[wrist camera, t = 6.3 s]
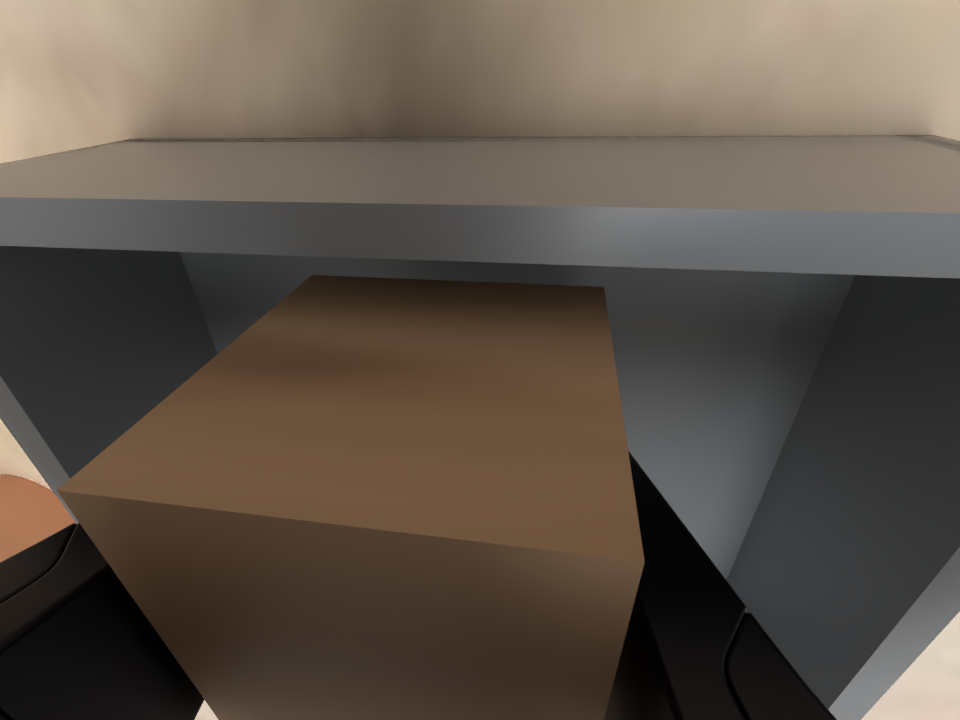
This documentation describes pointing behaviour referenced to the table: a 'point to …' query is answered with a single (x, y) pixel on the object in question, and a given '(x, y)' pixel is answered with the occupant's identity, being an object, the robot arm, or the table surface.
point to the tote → (632, 317)
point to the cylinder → (27, 515)
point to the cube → (386, 507)
